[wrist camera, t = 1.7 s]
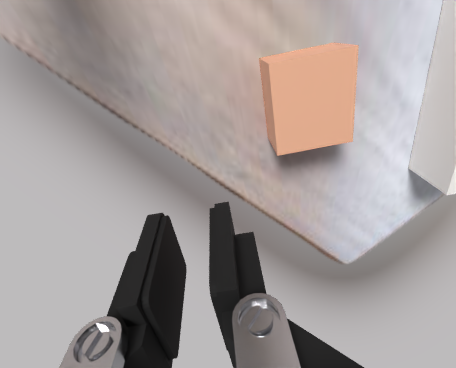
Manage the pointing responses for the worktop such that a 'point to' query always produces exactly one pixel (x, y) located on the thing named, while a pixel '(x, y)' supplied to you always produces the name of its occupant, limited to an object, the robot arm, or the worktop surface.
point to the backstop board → (439, 110)
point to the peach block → (310, 97)
